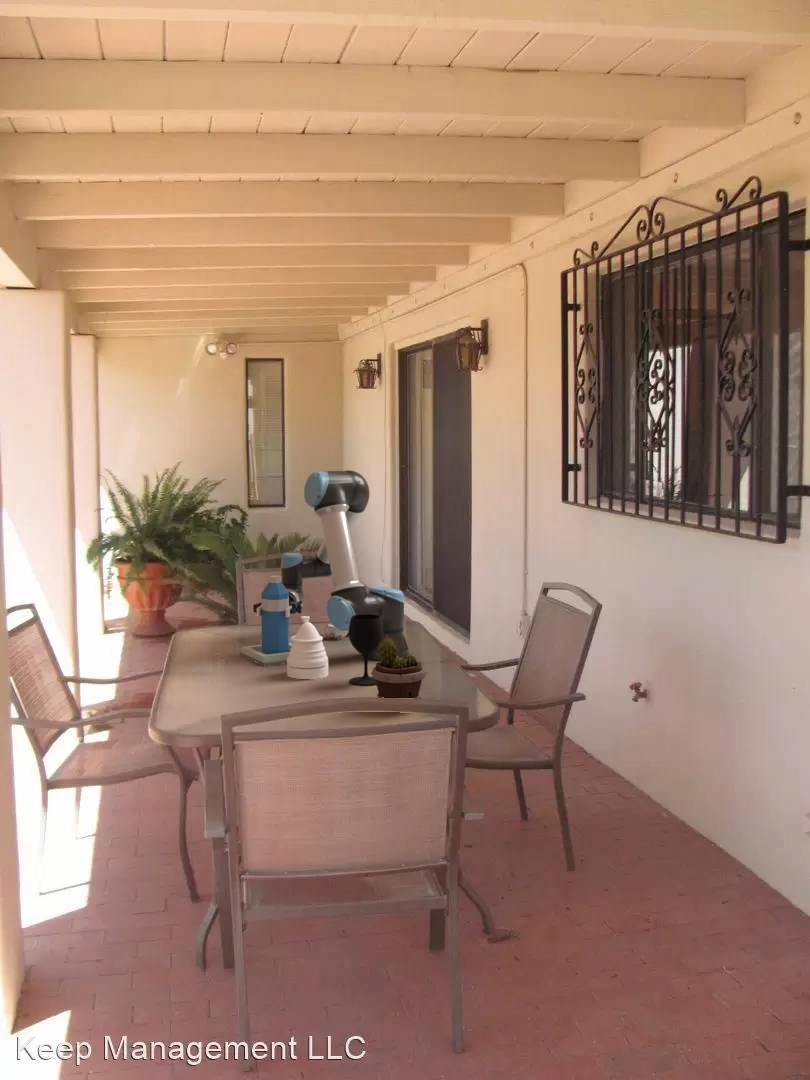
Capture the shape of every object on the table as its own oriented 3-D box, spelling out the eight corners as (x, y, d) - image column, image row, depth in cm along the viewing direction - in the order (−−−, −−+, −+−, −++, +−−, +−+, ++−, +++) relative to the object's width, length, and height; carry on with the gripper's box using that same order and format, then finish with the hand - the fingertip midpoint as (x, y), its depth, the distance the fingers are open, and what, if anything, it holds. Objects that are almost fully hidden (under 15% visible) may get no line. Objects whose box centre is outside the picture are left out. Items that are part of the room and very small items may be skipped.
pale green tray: (312, 660, 343) (312, 651, 343) (265, 666, 334) (265, 657, 334) (285, 649, 360) (285, 640, 360) (239, 654, 351) (239, 646, 351)
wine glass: (370, 687, 308) (370, 621, 306) (341, 683, 314) (341, 617, 311) (389, 680, 317) (389, 615, 315) (361, 676, 322) (361, 612, 320)
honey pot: (281, 672, 327) (281, 615, 325) (320, 668, 332) (320, 613, 330) (293, 681, 315) (293, 623, 313) (334, 677, 320) (333, 620, 318)
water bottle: (256, 652, 344) (255, 577, 342) (270, 646, 353) (269, 573, 350) (281, 654, 341) (280, 579, 338) (294, 648, 350) (294, 575, 347)
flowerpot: (435, 703, 291) (435, 633, 289) (405, 716, 278) (406, 642, 276) (391, 695, 299) (392, 627, 297) (361, 707, 286) (361, 636, 284)
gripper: (317, 612, 363) (304, 625, 340) (255, 611, 365) (239, 623, 342) (316, 591, 362) (304, 602, 340) (255, 590, 364) (239, 601, 342)
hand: (272, 613), depth 341 cm, fingers closed on water bottle, 9 cm apart
